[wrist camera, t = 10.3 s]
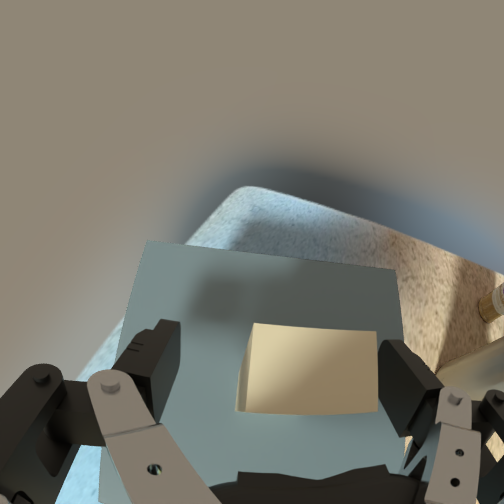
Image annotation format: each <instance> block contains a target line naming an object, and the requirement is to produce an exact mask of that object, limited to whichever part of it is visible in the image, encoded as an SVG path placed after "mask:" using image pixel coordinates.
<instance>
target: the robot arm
mask: <svg viewBox="0 0 504 504" xmlns="http://www.w3.org/2000/svg"><path fill="white" fill-rule="evenodd" d="M180 357H181V323H180V322H179V321H173V320H167V319H160V320H159V322H158V323H157V325H156V326H155V328H154V329H153V330H151V329H144V330H143V331H141V332H139V333H137V334H136V335H135V336H134V338H133V339H132V340H131V343H129V344H128V346H127V347H126V349H125V350H124V351H123V353H122V354H121V356H120V357H119V358H118V360H117V361H116V363H115V364H114V365H113V367H112V368H111V370H102V371H98V372H96V373H94V374H93V375H92V376H91V377H90V378H89V379H88V382H81V381H68V380H64V379H63V376H62V373H61V371H60V370H59V369H58V368H57V367H55V366H53V365H50V364H36V365H33V366H31V367H29V368H28V369H26V370H25V371H24V372H23V373H22V375H21V376H20V377H19V378H18V379H17V380H16V381H15V382H14V383H13V385H12V386H11V387H10V388H9V389H8V390H7V391H6V392H5V394H4V395H3V396H2V397H1V398H0V504H55V502H56V499H57V497H58V495H59V492H60V490H61V488H62V485H63V483H64V481H65V478H66V476H67V474H68V472H69V469H70V467H71V465H72V463H73V461H74V459H75V456H76V454H77V452H78V450H79V448H80V446H81V445H89V446H101V447H106V449H107V451H108V454H109V456H110V459H111V461H112V463H113V466H114V468H115V470H116V473H117V475H118V477H119V479H120V481H121V483H122V486H123V488H124V490H125V492H126V494H127V496H128V498H129V500H130V502H131V504H476V498H477V500H478V502H479V504H504V455H503V456H502V458H501V459H500V460H499V461H498V462H496V460H495V458H494V457H493V455H492V454H491V452H490V451H489V449H488V447H487V446H486V443H487V441H488V440H489V439H490V437H491V436H492V435H493V433H494V432H495V431H496V433H497V434H498V435H499V437H500V438H501V440H502V441H503V443H504V336H503V337H501V338H499V339H497V340H495V341H493V342H491V343H489V344H487V345H485V346H483V347H481V348H479V349H477V350H474V351H472V352H470V353H467V354H465V355H463V356H461V357H458V358H456V359H454V360H451V361H449V362H447V363H445V364H444V365H443V366H442V367H441V368H440V369H439V370H438V372H437V374H436V375H435V374H434V373H433V372H432V371H430V368H429V367H428V366H427V365H425V363H424V361H423V360H422V359H421V358H420V357H419V356H418V355H416V354H415V353H413V352H412V351H411V350H410V349H409V348H408V347H407V345H406V344H405V343H404V342H403V341H402V340H400V339H385V340H383V341H382V343H381V345H380V348H379V350H378V353H377V357H378V398H379V400H380V402H381V404H382V406H383V408H384V410H385V411H386V413H387V415H388V417H389V419H390V421H391V423H392V425H393V427H394V429H395V431H396V433H397V434H398V436H399V438H402V437H407V436H412V437H413V438H412V440H411V441H410V443H409V445H408V447H407V450H406V453H405V456H404V459H403V462H402V465H401V467H400V470H399V472H398V474H394V473H389V471H388V469H387V466H386V464H382V465H376V466H370V467H364V468H357V469H352V470H349V471H346V472H344V473H341V474H337V475H334V476H331V477H328V478H325V479H320V480H315V479H308V478H302V477H296V476H290V475H285V474H280V473H257V472H241V471H238V474H237V479H236V481H233V482H226V483H221V484H217V485H214V486H210V487H208V486H207V485H206V484H205V483H204V481H203V480H202V479H201V477H200V476H199V475H198V473H197V472H196V471H195V469H194V468H193V467H192V465H191V464H190V462H189V461H188V460H187V458H186V457H185V455H184V454H183V453H182V451H181V450H180V448H179V447H178V445H177V444H176V442H175V441H174V439H173V438H172V436H171V435H170V433H169V431H168V430H167V428H166V427H165V426H164V425H163V424H162V423H159V422H160V419H161V416H162V414H163V411H164V408H165V405H166V403H167V400H168V397H169V395H170V392H171V389H172V387H173V384H174V381H175V378H176V376H177V373H178V370H179V366H180Z"/></svg>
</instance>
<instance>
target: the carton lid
mask: <svg viewBox="0 0 504 504" xmlns="http://www.w3.org/2000/svg"><path fill="white" fill-rule="evenodd" d="M160 319H167V320H173V321H179V322H180V323H181V357H180V366H179V370H178V373H177V376H176V378H175V381H174V384H173V387H172V389H171V392H170V395H169V397H168V400H167V403H166V405H165V408H164V411H163V414H162V416H161V419H160V422H159V423H162V424H163V425H164V426H165V427H166V428H167V430H168V431H169V433H170V435H171V436H172V438H173V439H174V441H175V442H176V444H177V445H178V447H179V448H180V450H181V451H182V453H183V454H184V455H185V457H186V458H187V460H188V461H189V462H190V464H191V465H192V467H193V468H194V469H195V471H196V472H197V473H198V475H199V476H200V477H201V479H202V480H203V481H204V483H205V484H206V485H207V486H208V487H210V486H214V485H217V484H221V483H226V482H233V481H236V479H237V474H238V471H241V472H257V473H280V474H285V475H290V476H296V477H302V478H308V479H315V480H320V479H325V478H328V477H331V476H334V475H337V474H341V473H344V472H346V471H349V470H352V469H357V468H364V467H370V466H376V465H382V464H386V466H387V469H388V471H389V473H394V474H398V472H399V470H400V467H401V465H402V462H403V459H404V450H405V437H402V438H399V436H398V434H397V433H396V431H395V429H394V427H393V425H392V423H391V421H390V419H389V417H388V415H387V413H386V411H385V410H384V408H383V406H382V404H381V402H380V400H379V398H378V357H377V353H378V350H379V348H380V345H381V343H382V341H383V340H385V339H400V340H402V341H403V342H404V336H403V325H402V316H401V307H400V300H399V292H398V285H397V279H396V273H395V270H392V269H383V268H375V267H366V266H358V265H350V264H341V263H333V262H324V261H316V260H308V259H299V258H291V257H282V256H274V255H266V254H257V253H249V252H241V251H232V250H224V249H215V248H207V247H199V246H190V245H182V244H174V243H165V242H157V241H149V240H147V242H146V245H145V248H144V252H143V254H142V258H141V261H140V264H139V268H138V271H137V274H136V278H135V281H134V285H133V288H132V292H131V295H130V299H129V303H128V307H127V310H126V314H125V318H124V322H123V327H122V331H121V335H120V340H119V344H118V349H117V353H116V358H115V363H116V361H117V360H118V358H119V357H120V356H121V354H122V353H123V351H124V350H125V349H126V347H127V346H128V344H129V343H131V340H132V339H133V338H134V336H135V335H136V334H137V333H139V332H141V331H143V330H144V329H151V330H153V329H154V328H155V326H156V325H157V323H158V322H159V320H160ZM115 363H114V364H115ZM98 502H101V503H104V504H131V502H130V500H129V498H128V496H127V494H126V492H125V490H124V488H123V486H122V483H121V481H120V479H119V477H118V475H117V473H116V470H115V468H114V466H113V463H112V461H111V459H110V456H109V454H108V451H107V449H106V447H102V450H101V461H100V476H99V499H98Z"/></svg>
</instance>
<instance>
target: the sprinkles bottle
mask: <svg viewBox="0 0 504 504" xmlns="http://www.w3.org/2000/svg"><path fill="white" fill-rule="evenodd" d="M479 312H480V315H481V317H482V318H483V320H484V321H486V322H488V323H491V322H493V321H494V320H495V319H497V318H498V317H500V316H502V315H504V283H502V284H501V285H500V286H498V287H497V288H496V289H494V291H492V292H491V293H489V294H488V295H487V296H485V297H483V298H481V300H480V302H479Z"/></svg>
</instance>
